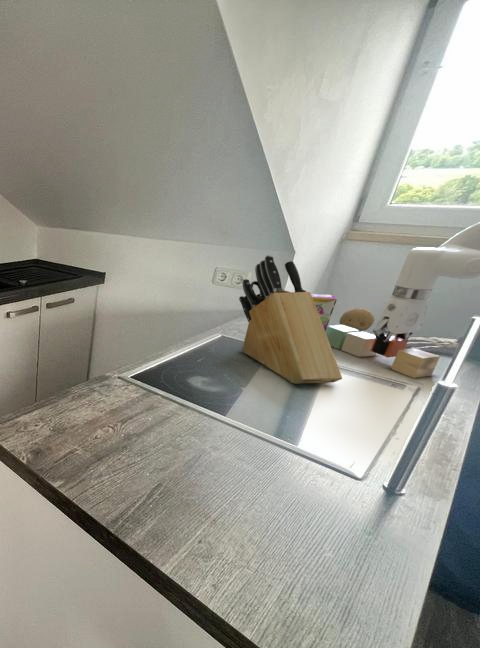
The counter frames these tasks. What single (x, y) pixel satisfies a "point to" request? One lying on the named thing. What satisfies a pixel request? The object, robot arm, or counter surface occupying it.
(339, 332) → the sage block
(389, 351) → the terracotta block
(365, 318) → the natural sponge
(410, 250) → the robot arm
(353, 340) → the cream block
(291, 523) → the counter surface
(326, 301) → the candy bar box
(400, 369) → the beech block
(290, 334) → the knife block
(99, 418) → the counter surface
